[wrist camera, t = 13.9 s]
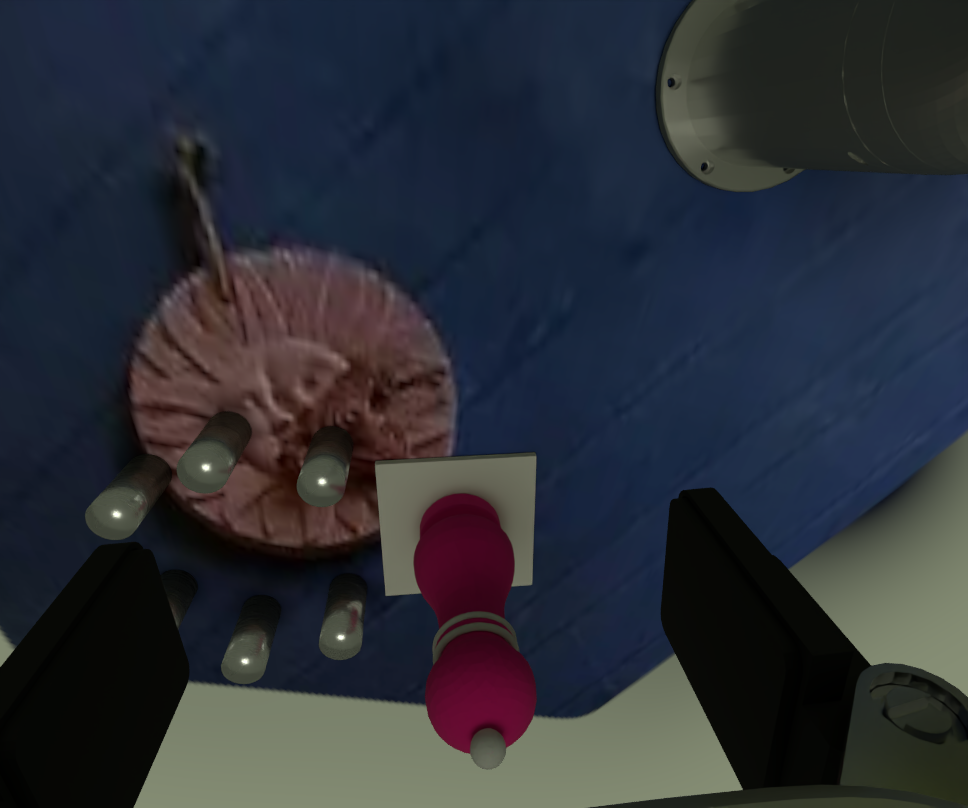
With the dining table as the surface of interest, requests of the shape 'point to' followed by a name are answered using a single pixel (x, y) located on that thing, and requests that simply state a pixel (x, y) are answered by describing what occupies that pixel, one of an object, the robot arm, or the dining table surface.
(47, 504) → the dining table surface
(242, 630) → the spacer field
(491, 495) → the mat
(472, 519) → the pepper mill
